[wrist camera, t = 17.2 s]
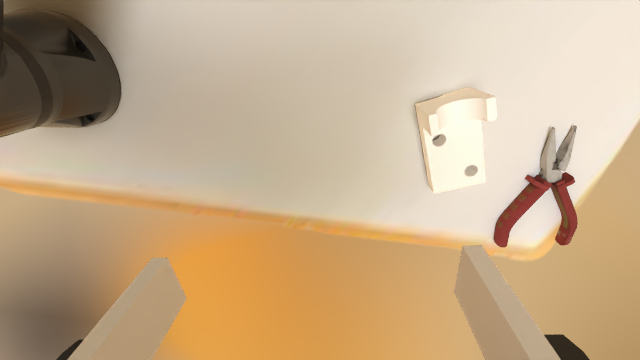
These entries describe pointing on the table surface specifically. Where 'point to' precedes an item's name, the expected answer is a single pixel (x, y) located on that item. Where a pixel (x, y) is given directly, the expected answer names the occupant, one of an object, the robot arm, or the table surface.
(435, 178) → the bracket
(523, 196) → the pliers
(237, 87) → the table surface
